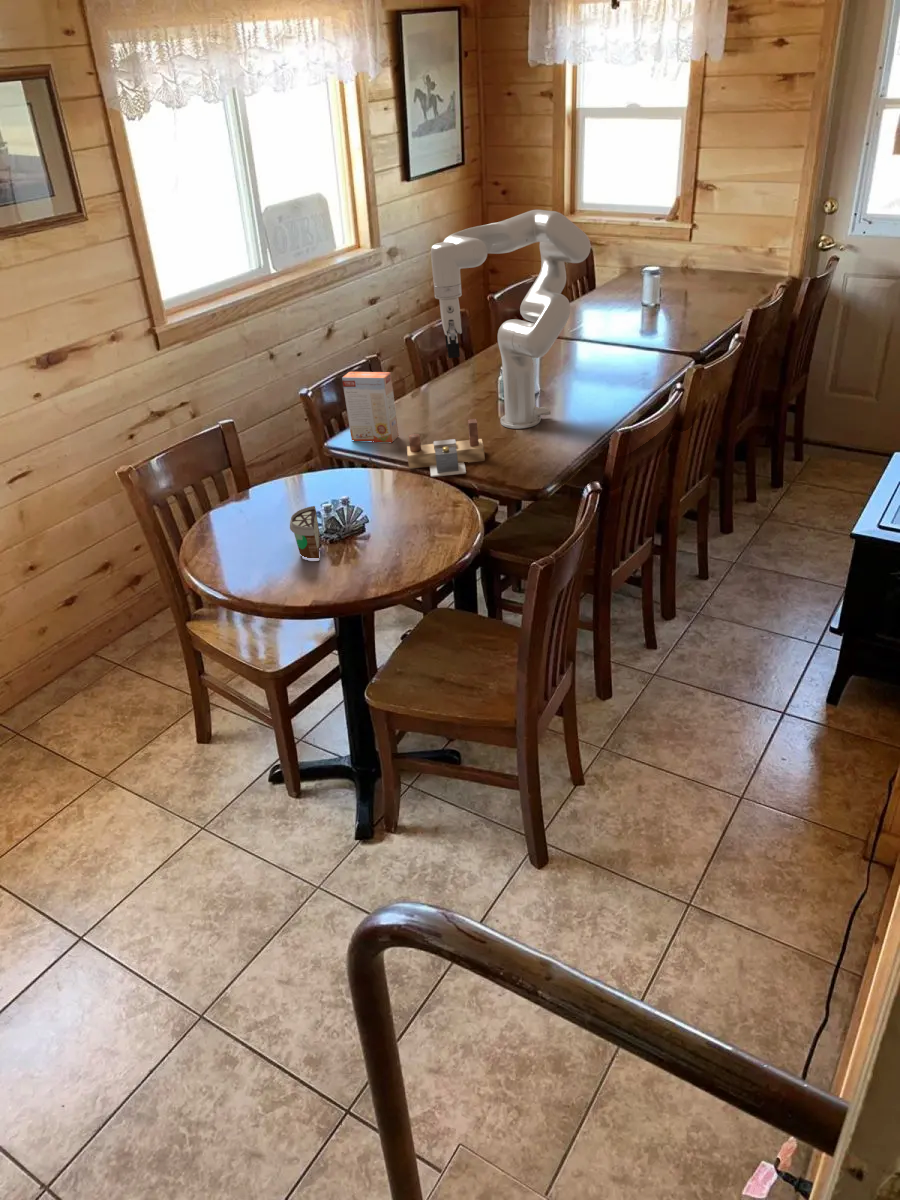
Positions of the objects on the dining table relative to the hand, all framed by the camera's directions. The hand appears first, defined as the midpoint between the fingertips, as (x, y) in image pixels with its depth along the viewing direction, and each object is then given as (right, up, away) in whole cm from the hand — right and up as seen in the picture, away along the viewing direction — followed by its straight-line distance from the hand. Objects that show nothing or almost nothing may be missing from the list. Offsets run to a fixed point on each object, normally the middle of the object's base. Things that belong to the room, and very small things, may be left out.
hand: (452, 352), depth 256 cm
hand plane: (-2, -30, +6) cm, 30 cm away
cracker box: (-24, -21, +25) cm, 40 cm away
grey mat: (-1, -34, 0) cm, 34 cm away
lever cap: (-2, -33, 0) cm, 33 cm away
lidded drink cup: (-36, -59, -35) cm, 78 cm away
